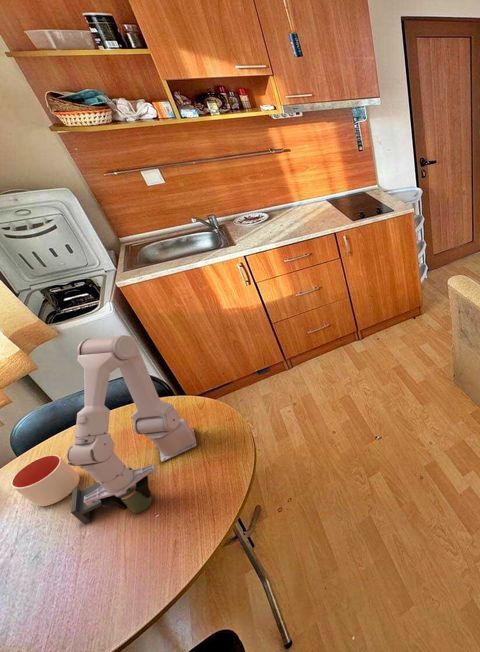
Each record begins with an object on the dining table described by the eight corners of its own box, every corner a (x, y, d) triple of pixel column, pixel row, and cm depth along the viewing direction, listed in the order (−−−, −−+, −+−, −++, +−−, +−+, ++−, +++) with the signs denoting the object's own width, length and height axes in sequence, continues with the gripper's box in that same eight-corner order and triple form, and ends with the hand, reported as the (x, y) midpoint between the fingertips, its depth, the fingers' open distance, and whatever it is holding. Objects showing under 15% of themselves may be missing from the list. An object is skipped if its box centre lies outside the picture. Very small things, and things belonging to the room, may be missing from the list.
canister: (151, 492, 106) (136, 476, 102) (152, 506, 103) (137, 489, 98) (131, 503, 104) (114, 486, 99) (131, 517, 101) (114, 500, 96)
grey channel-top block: (137, 475, 111) (127, 464, 107) (139, 496, 106) (128, 484, 102) (85, 500, 105) (72, 489, 101) (83, 524, 99) (70, 512, 96)
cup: (54, 511, 102) (30, 491, 97) (25, 505, 104) (0, 485, 98) (90, 477, 111) (70, 457, 105) (63, 472, 112) (42, 452, 106)
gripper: (72, 502, 88) (103, 530, 96) (146, 467, 96) (170, 495, 103) (74, 480, 93) (104, 508, 101) (144, 448, 100) (167, 476, 108)
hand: (137, 500), depth 102 cm, fingers closed on canister, 4 cm apart
